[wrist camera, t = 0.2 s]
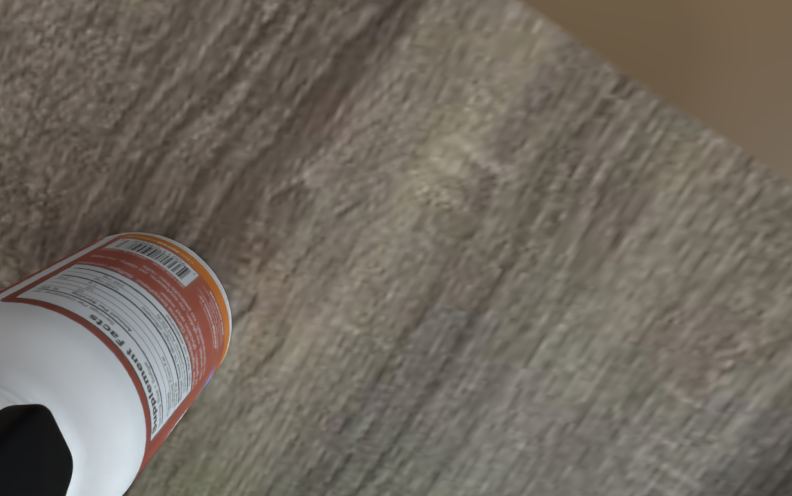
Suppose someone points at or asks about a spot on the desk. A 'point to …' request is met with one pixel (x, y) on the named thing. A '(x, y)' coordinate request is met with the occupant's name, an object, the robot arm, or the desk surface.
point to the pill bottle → (114, 350)
